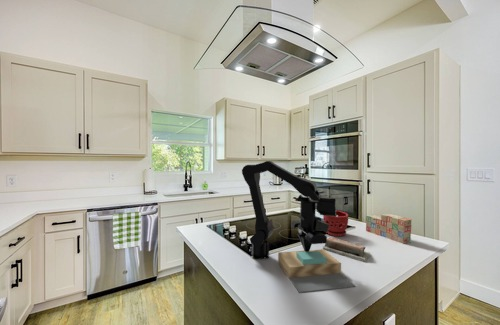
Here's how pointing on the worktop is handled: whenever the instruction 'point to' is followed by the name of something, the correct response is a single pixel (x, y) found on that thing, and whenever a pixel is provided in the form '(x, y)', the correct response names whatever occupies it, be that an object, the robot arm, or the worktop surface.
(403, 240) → the stack of blocks
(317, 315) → the worktop surface
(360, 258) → the packaged product
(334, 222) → the plant pot
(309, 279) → the mat
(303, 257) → the teal rectangular block
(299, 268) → the board
